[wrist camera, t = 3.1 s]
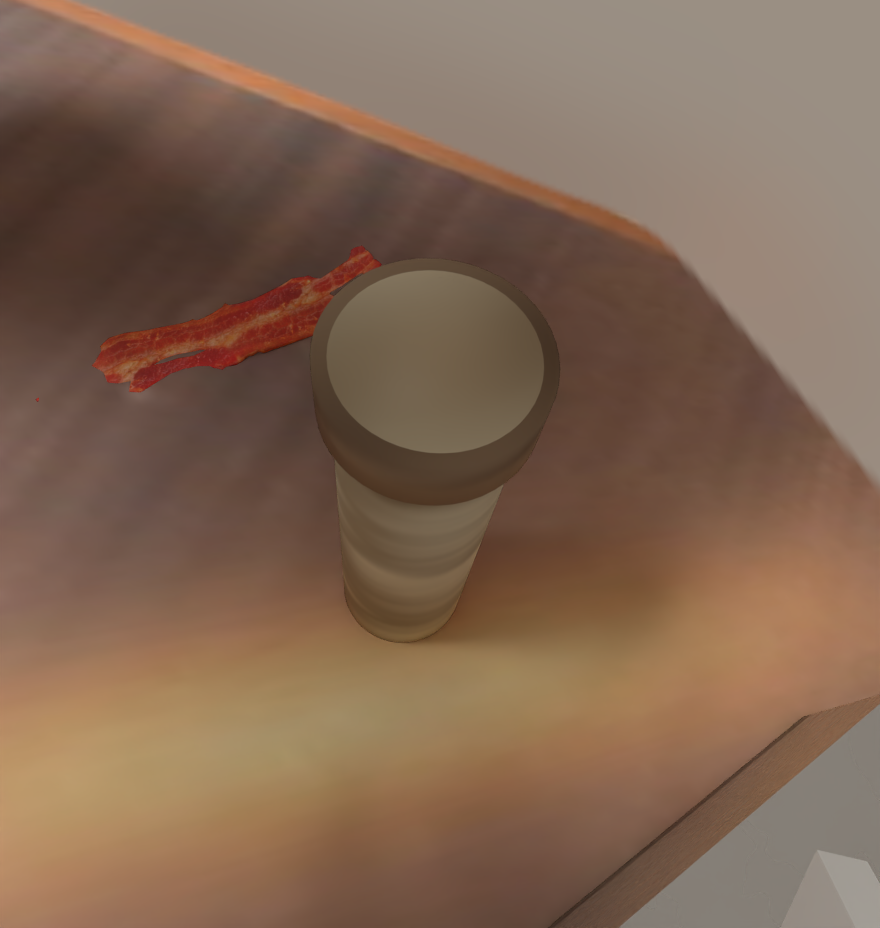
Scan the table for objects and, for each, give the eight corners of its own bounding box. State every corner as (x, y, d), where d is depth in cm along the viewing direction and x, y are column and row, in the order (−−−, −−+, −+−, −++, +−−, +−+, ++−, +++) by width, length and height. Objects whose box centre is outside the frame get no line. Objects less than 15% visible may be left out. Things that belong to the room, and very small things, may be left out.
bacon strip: (408, 297, 33) (409, 287, 32) (58, 456, 28) (51, 448, 27) (363, 236, 34) (363, 226, 33) (20, 379, 29) (13, 370, 29)
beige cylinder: (310, 564, 27) (263, 318, 14) (421, 500, 28) (468, 225, 16) (380, 678, 25) (396, 516, 13) (494, 605, 27) (610, 394, 14)
